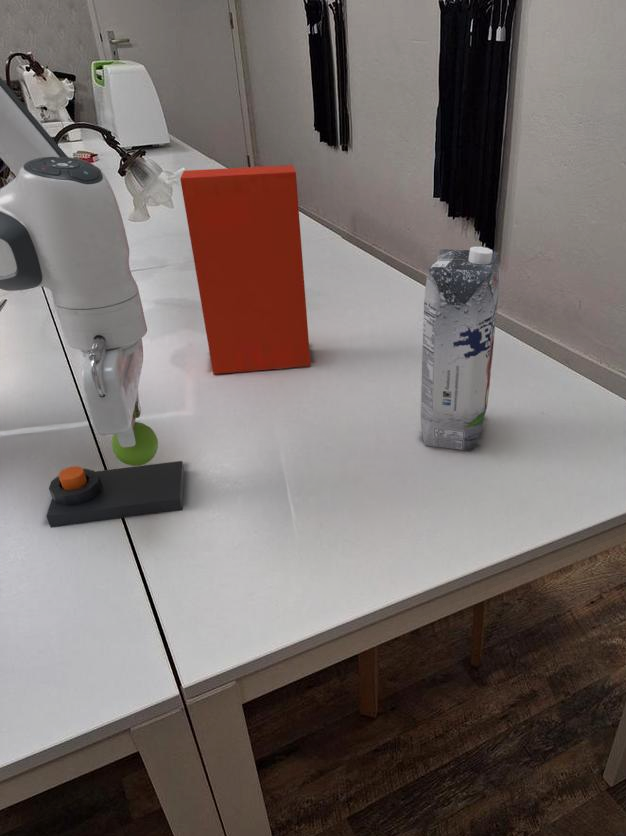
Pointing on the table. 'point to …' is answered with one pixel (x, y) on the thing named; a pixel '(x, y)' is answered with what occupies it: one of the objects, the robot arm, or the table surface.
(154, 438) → the snail figurine
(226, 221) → the file binder
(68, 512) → the orange push button base
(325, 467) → the table surface
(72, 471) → the button
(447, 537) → the table surface
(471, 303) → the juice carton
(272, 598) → the table surface
